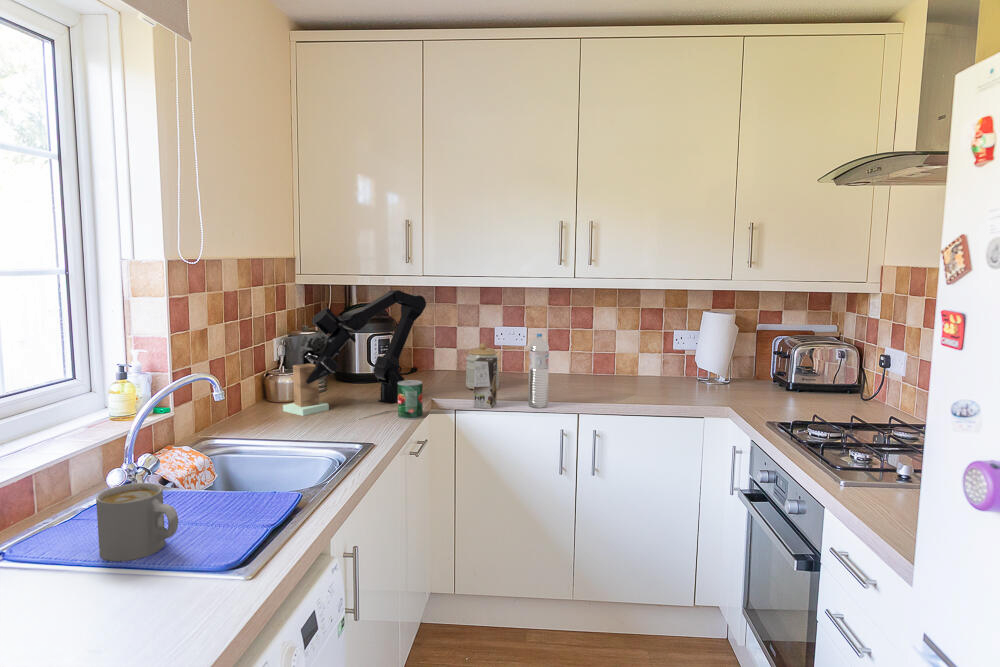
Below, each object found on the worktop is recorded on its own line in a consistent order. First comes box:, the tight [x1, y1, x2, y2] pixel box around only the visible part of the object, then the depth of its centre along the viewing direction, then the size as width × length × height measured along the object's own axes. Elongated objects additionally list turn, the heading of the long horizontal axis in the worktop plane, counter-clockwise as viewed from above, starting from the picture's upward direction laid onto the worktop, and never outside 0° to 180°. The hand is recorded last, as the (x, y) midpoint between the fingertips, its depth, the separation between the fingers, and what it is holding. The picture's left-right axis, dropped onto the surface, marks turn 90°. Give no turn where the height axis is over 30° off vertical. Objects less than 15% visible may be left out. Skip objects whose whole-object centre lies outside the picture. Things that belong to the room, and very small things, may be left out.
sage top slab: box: [282, 401, 330, 417], centre depth 209 cm, size 10×10×2 cm
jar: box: [465, 342, 500, 388], centre depth 253 cm, size 13×13×18 cm
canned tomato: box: [397, 379, 424, 420], centre depth 208 cm, size 8×8×11 cm
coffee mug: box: [95, 482, 179, 562], centre depth 113 cm, size 13×10×10 cm
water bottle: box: [527, 333, 550, 409], centre depth 224 cm, size 7×7×25 cm
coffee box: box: [473, 357, 498, 409], centre depth 224 cm, size 9×6×16 cm
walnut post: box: [292, 363, 320, 407], centre depth 209 cm, size 6×6×12 cm
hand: (301, 380), depth 208 cm, fingers open, 9 cm apart
